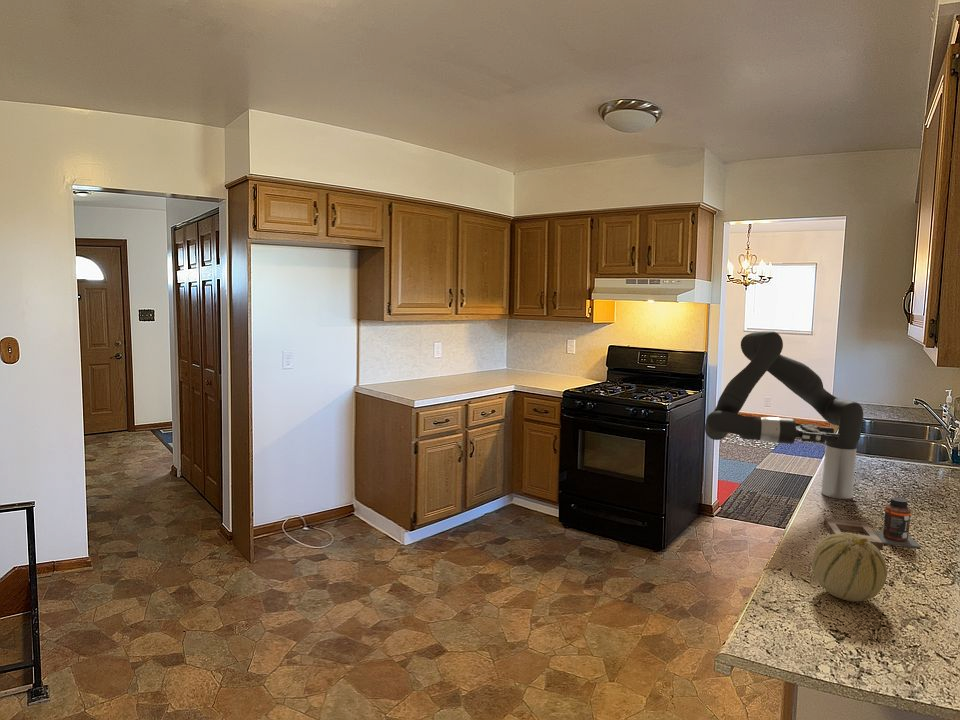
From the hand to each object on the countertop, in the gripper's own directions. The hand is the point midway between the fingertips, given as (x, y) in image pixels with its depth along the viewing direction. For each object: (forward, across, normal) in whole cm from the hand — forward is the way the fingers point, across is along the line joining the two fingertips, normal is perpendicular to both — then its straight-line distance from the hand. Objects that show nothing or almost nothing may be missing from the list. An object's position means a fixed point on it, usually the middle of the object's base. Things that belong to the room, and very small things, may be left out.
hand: (837, 434), depth 183 cm
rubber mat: (+16, -4, +28) cm, 33 cm away
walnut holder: (+5, -4, +28) cm, 29 cm away
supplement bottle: (+16, -4, +28) cm, 32 cm away
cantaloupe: (-7, -47, +28) cm, 55 cm away
